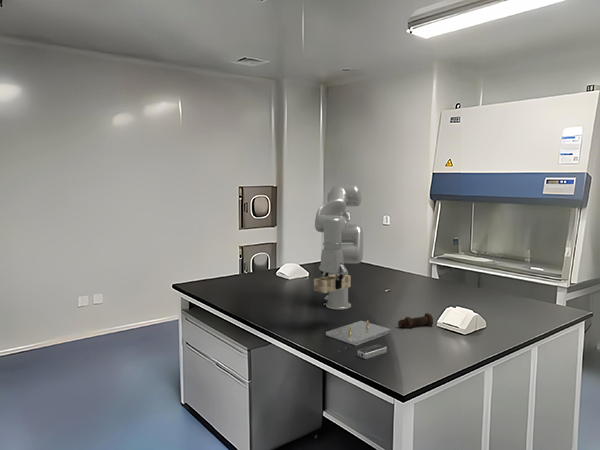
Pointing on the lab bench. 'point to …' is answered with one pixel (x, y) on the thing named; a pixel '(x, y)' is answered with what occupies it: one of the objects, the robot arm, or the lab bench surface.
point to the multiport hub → (372, 351)
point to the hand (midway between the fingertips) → (332, 286)
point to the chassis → (358, 332)
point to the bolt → (416, 321)
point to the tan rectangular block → (330, 283)
